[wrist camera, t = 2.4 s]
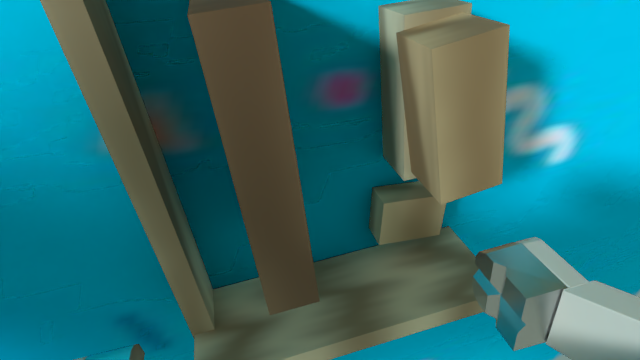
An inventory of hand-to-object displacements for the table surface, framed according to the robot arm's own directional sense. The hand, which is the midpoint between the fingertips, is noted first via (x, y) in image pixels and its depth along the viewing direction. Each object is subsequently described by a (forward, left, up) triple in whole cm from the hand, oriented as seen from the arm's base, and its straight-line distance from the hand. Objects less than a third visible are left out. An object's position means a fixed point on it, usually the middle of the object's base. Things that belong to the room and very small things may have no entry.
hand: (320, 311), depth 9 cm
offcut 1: (+8, 0, -12) cm, 15 cm away
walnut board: (0, 0, -12) cm, 12 cm away
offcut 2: (+8, -7, -12) cm, 16 cm away
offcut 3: (+8, 0, -9) cm, 12 cm away
